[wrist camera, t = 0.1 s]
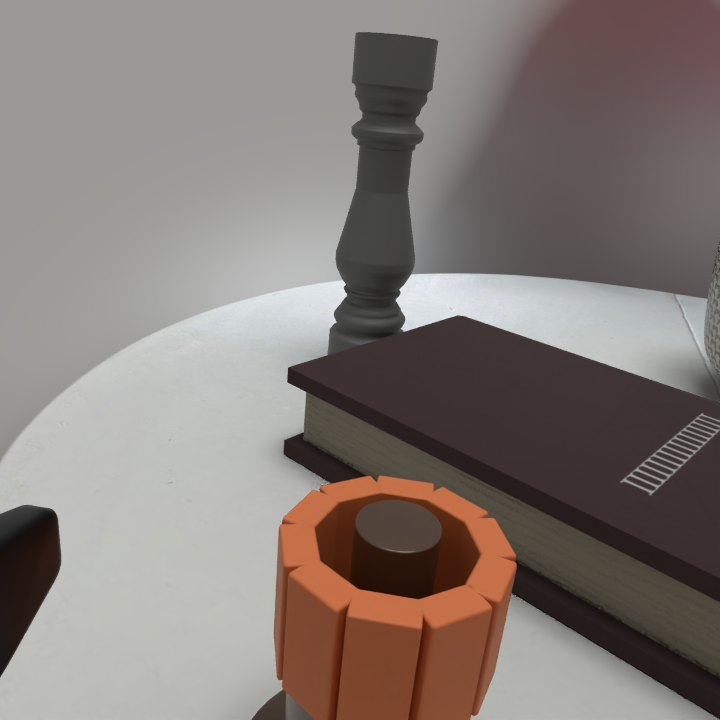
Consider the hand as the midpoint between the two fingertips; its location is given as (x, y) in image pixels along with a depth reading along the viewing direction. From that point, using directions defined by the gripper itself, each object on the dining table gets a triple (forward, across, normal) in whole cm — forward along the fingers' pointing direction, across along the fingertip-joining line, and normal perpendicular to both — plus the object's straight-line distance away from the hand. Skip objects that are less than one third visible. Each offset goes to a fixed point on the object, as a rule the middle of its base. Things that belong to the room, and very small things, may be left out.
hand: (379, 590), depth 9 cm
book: (+30, -9, +16) cm, 35 cm away
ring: (+9, 0, +10) cm, 13 cm away
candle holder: (+45, +5, +16) cm, 48 cm away
